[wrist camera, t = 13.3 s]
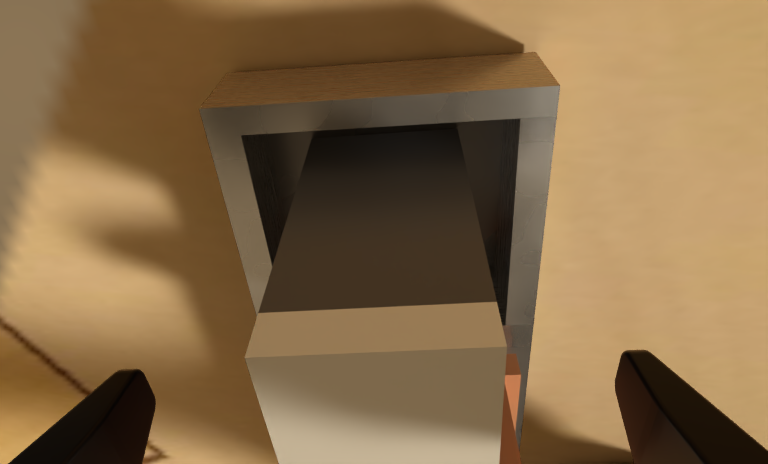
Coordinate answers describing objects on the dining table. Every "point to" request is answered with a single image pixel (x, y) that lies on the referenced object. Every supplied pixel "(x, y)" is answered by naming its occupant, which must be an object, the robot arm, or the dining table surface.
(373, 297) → the plug
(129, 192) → the dining table surface
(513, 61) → the grey rectangular box
